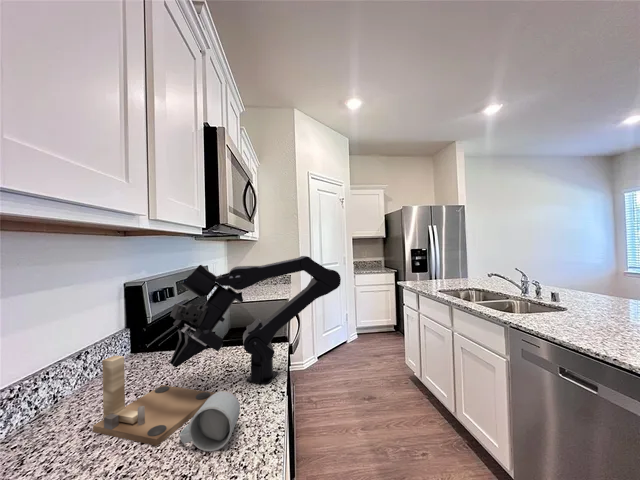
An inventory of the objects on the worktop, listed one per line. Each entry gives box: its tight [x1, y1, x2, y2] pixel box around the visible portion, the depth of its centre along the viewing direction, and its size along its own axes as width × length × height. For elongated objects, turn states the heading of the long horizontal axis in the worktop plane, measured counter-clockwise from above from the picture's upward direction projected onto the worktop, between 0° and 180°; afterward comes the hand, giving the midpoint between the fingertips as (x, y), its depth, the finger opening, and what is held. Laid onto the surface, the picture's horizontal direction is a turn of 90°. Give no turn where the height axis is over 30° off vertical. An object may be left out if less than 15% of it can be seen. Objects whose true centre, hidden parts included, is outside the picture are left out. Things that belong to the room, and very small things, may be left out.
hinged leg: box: [101, 355, 138, 424], centre depth 59 cm, size 7×3×12 cm, turn 74°
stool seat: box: [92, 384, 216, 447], centre depth 64 cm, size 17×16×4 cm
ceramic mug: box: [178, 390, 241, 452], centre depth 55 cm, size 11×8×8 cm
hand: (172, 365), depth 68 cm, fingers closed
